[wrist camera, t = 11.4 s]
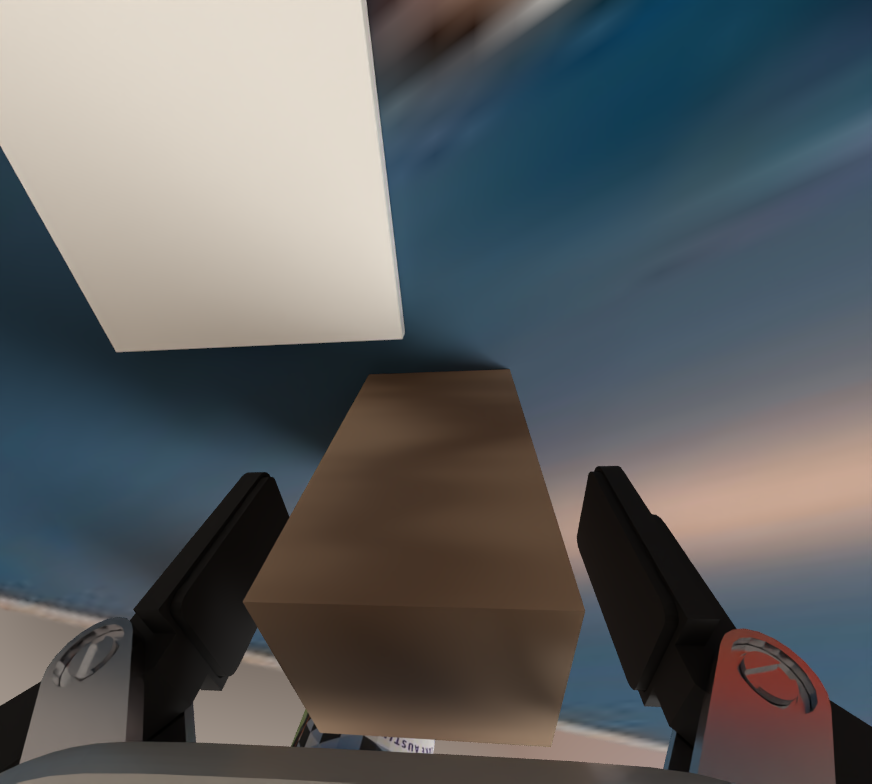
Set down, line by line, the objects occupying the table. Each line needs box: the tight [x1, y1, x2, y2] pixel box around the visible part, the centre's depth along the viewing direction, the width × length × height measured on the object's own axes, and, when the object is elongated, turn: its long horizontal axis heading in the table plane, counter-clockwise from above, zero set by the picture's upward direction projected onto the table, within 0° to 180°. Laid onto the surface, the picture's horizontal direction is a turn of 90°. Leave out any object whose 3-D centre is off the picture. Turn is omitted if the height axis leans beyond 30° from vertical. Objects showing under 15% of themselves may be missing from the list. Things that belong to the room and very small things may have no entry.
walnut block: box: [243, 369, 585, 747], centre depth 10 cm, size 5×5×8 cm
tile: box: [0, 0, 405, 352], centre depth 9 cm, size 10×10×1 cm
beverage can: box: [291, 710, 435, 754], centre depth 14 cm, size 6×7×12 cm
